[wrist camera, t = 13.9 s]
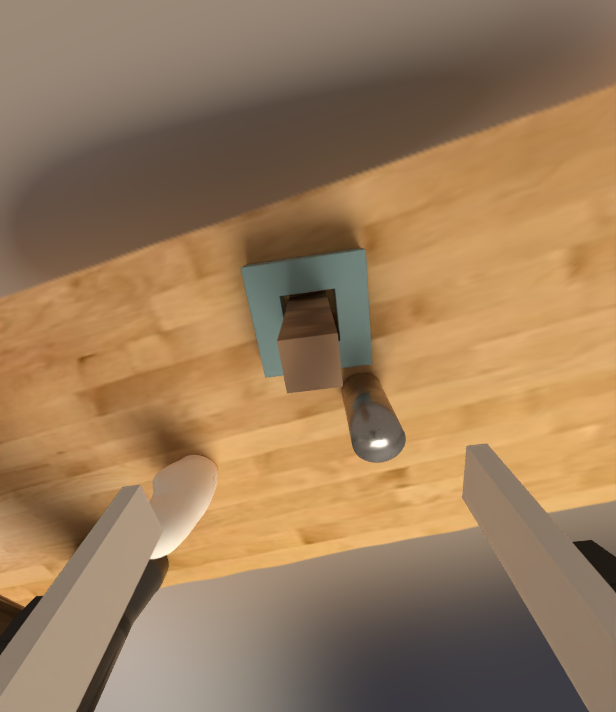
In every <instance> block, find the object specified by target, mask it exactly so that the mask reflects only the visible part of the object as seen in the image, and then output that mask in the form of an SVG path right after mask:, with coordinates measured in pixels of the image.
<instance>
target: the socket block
mask: <svg viewBox="0 0 616 712" xmlns="http://www.w3.org/2000/svg"><path fill="white" fill-rule="evenodd" d="M241 272H242V276H243V280H244V285H245V289H246V294H247V298H248V303H249V307H250V312H251V316H252V320H253V325H254V329H255V334H256V338H257V343H258V347H259V351H260V356H261V360H262V365H263V369H264V374H265V378H267V377H275V376H283V369H282V364H281V359H280V354H279V349H278V344H277V339H278V336H279V332H280V329H281V325H282V322H283V319H284V315H285V312H286V311H285V305H284V299H283V296H285V295H292V294H299V293H307V292H314V291H321V290H328V289H333V290H334V300H335V309H336V319H337V328H338V332H337V333H338V342H339V352H340V361H341V368H346V367H354V366H362V365H370V364H372V352H371V335H370V317H369V300H368V282H367V265H366V249H362V248H356V249H349V250H343V251H336V252H329V253H322V254H316V255H309V256H302V257H296V258H289V259H282V260H275V261H269V262H262V263H255V264H249V265H245V266H244V267H242V268H241Z"/></svg>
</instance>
